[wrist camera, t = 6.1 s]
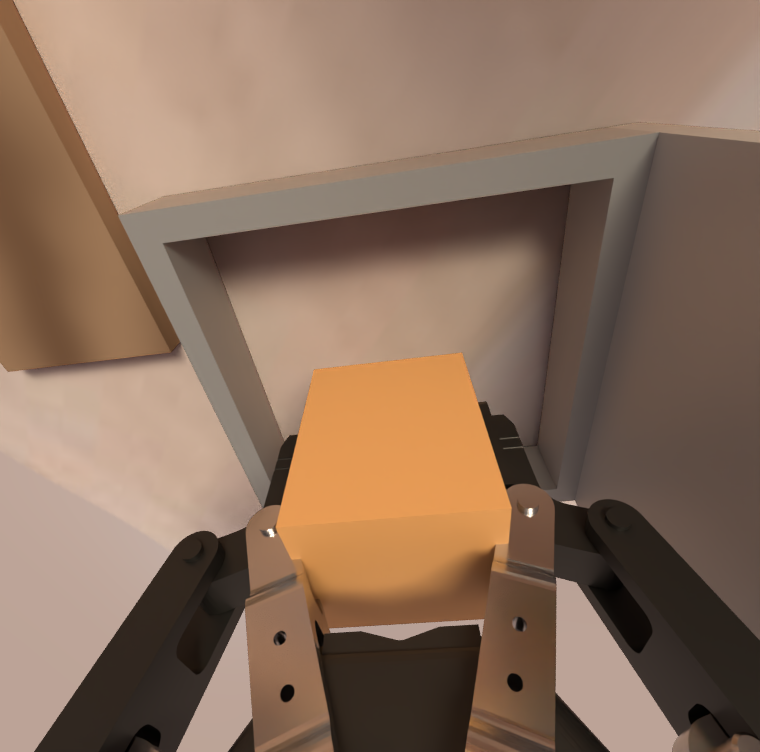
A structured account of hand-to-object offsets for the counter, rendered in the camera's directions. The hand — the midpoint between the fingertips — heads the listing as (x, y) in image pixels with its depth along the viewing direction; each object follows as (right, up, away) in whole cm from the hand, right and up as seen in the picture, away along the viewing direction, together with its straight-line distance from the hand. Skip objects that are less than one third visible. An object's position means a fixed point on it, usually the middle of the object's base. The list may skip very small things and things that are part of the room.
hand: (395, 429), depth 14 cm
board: (-15, +8, +1) cm, 17 cm away
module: (0, 0, +1) cm, 1 cm away
